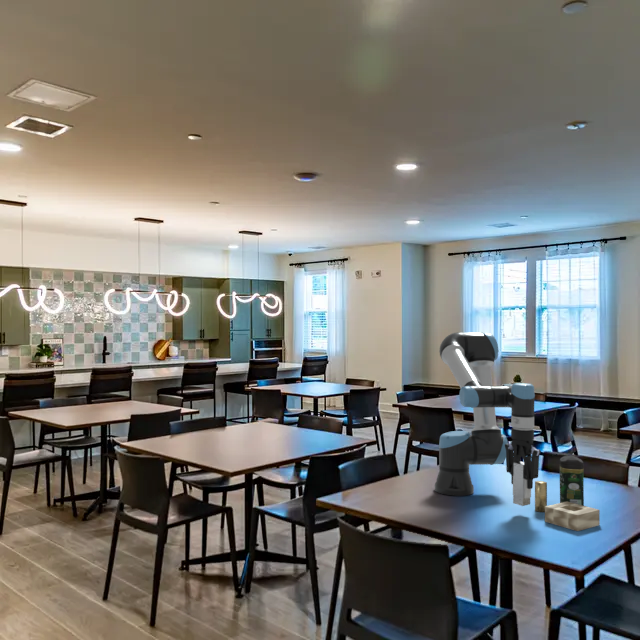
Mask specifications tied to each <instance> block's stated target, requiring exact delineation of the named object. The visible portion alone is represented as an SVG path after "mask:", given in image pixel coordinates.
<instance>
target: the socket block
mask: <svg viewBox="0 0 640 640" xmlns="http://www.w3.org/2000/svg"><path fill="white" fill-rule="evenodd" d="M600 517H601V516H600V509H597V508H594V507H591V506H590V507H589V506H586V505H584V506H583V505H579V504H575V503H571V502H563V503H560V502H559V503H558V502H557V503H555V504H550V505H547V506H545V512H544V522H545V523H549V524H552V525H556V526H558V527H561V528H566V529H568V530H572V531H576V532H580V531H583V530H587V529H591V528H596V527H598V526H600Z"/></svg>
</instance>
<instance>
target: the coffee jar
mask: <svg viewBox="0 0 640 640" xmlns="http://www.w3.org/2000/svg"><path fill="white" fill-rule="evenodd" d="M584 468H585V467H584V461H583V460H582V459H581V458H579V457H577V456H576V455H564V456H562V457H560V458H559V503H563V502H571V503H575V504H579V505H583V506H585V501H584V499H585V496H584V489H585V488H584V487H585V483H584V470H585V469H584Z"/></svg>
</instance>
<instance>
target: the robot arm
mask: <svg viewBox="0 0 640 640" xmlns="http://www.w3.org/2000/svg"><path fill="white" fill-rule="evenodd" d="M499 351H500V349H499V345H498V341H497V339H496V337H495V336H494V335H493V334H492V333H489V332H482V331H481V332H461V331H458V332H453V333H450V334H448V335H447V336H445V338H444V339H443V340H442V341H441V342H440V346H439V351H438V353H439V357H440V359H441V361H442V362H443V363H444V364H445V365H447V367H448V368H449V370H450V372H451V373H452V375H453V377H454V379H455V381H456V382H457V384H458V386H459V388H460V390H459V395H458V397H459V402H460V404H461V406H462V407H463V408H472V409H473V410H472V411H473V421H474V427H473V428H472V429H471V434H470V432H469V431H467V430H454V431H453V430H452V431H448V432H445V433H442V434H441V435H440V436H439V444H438V448H439V450H438V451H439V454H438V455H439V458H438V459H439V460H438V463H439V466H438V468H439V469H438V470H439V471H438V473H437V477H436V482H435V483H434V491H435V493H438V494H442V495H444V496H445V495H448V496H456V497H457V496H458V497H461V496H471V495H473V494H474V490H475V489H474V484H473V483H472V478H471V474H470V466H471V465H474V466H475V465H480V466H481V465H484V466H485V465H487V466H488V465H490V466H492V465H493V466H494V465H500V464H502V463H504V462H505V461H506V467H505V468H506V473H509V474H510V475H511V477H510V478H511V479H510V480H511V485H513V475H514V463H516V462H521V459H522V460H523V462H524V465H525V473H526V478H525V479H524V498H530V499H531V497H532V489H533V487H534V483H533V482H534V480H535V479H537V478H539V470H540V469H539V465H540V455H541V452H542V450H540V449H537V448H536V447H535V446H534V440H535V430H534V428H535V397H536V394H535V386H534V385H533V384H532V383H526V382H525V383H523V382H518V383H517V382H516V383H515V382H514V383H513V384H512V385H502V386H493V375H492V373H493V372H492V367H493V366H494V365H495V361H496V360H497V359H498V357H499ZM496 408H511V420H510V421H511V423H510V424H511V425H510V426H511V427H512V428H511V429H510V431H511V432H510V434H511V435H510V438H511V439H512V440H511V442H510V443H509V442H508V438H507V436H506V435H505V434H504V433H503V434H502V429H501V428H500V427H499V426H497V418H496V417H497V416H496Z"/></svg>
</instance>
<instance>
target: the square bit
mask: <svg viewBox="0 0 640 640" xmlns="http://www.w3.org/2000/svg"><path fill="white" fill-rule="evenodd" d="M525 478H526V473H525V465H524V461H520V462H516V463H514V475H513V484H512V495H513V496H512V503H513V504H515V505H518V506H521V507H525V506H528V505H529V506H530V505H531V497H530V498H524V479H525Z"/></svg>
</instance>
